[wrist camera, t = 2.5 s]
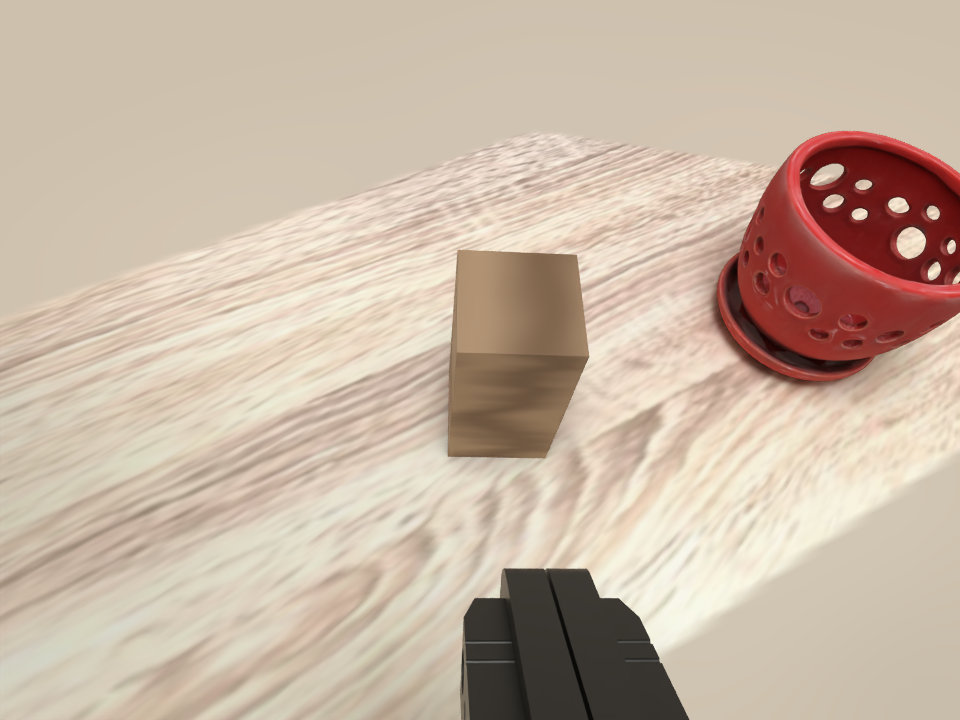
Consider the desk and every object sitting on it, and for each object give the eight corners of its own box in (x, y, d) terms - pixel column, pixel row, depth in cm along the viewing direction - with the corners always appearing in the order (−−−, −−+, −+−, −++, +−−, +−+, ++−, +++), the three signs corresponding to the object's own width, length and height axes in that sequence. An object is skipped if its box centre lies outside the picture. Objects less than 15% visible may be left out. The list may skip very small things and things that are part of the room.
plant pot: (776, 427, 41) (894, 323, 31) (670, 279, 47) (738, 150, 37) (921, 367, 44) (1070, 256, 34) (805, 235, 50) (902, 107, 40)
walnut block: (447, 456, 38) (456, 352, 28) (449, 371, 41) (457, 249, 31) (545, 458, 39) (589, 356, 28) (539, 373, 42) (576, 255, 31)
